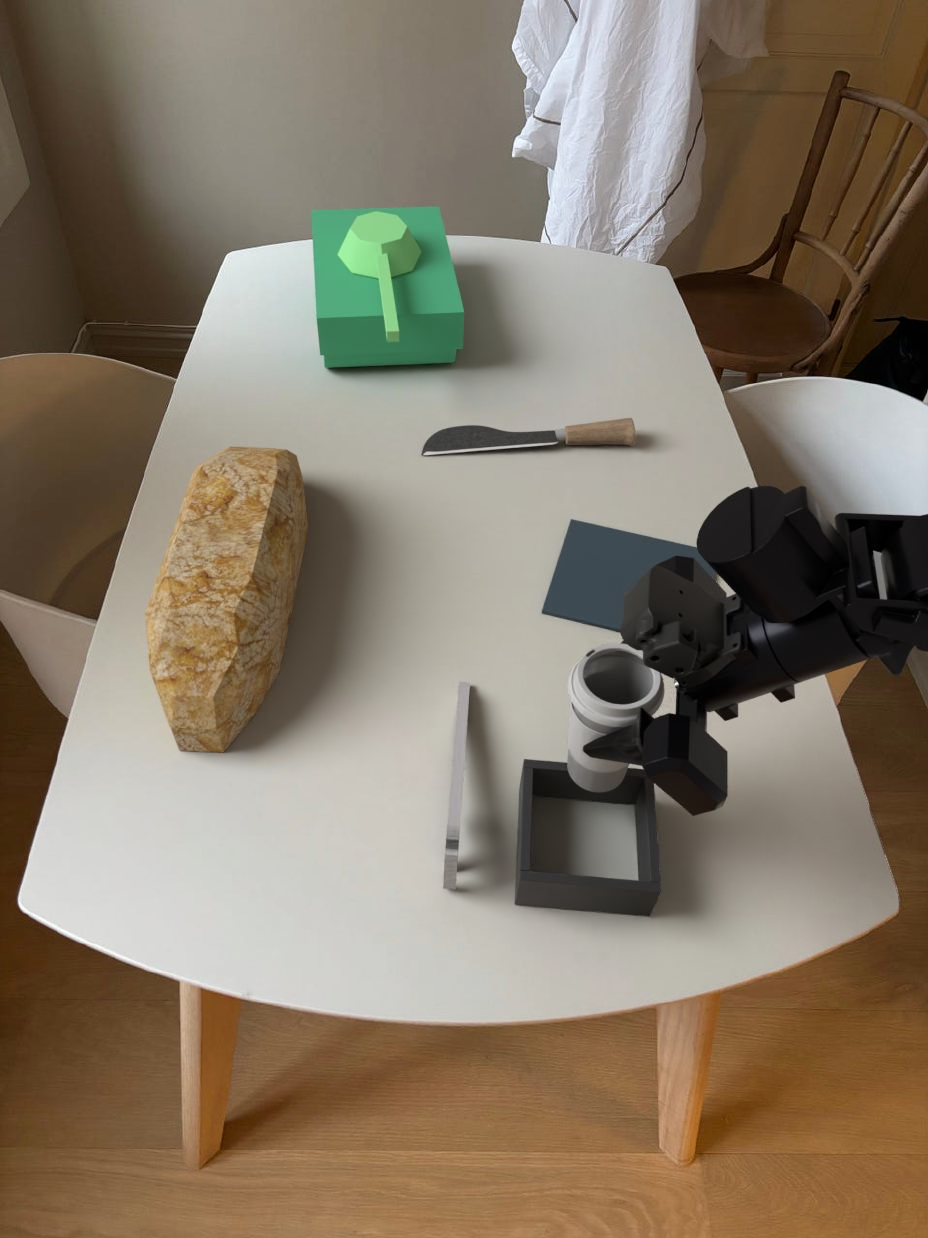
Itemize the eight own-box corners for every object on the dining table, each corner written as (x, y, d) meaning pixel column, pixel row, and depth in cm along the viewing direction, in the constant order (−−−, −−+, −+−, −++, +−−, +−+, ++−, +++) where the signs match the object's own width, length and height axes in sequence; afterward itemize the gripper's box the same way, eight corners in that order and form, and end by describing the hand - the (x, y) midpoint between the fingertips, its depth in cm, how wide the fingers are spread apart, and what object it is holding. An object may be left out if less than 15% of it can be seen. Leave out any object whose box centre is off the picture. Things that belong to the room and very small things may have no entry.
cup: (594, 717, 78) (616, 622, 69) (657, 768, 75) (688, 675, 66) (534, 766, 74) (549, 673, 65) (597, 822, 71) (622, 733, 62)
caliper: (456, 893, 74) (459, 856, 69) (442, 892, 74) (444, 855, 69) (470, 685, 87) (473, 642, 82) (458, 684, 87) (461, 641, 82)
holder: (643, 797, 80) (653, 769, 76) (650, 917, 73) (661, 892, 70) (519, 787, 80) (523, 758, 77) (514, 905, 73) (519, 879, 70)
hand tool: (417, 419, 110) (626, 402, 112) (419, 440, 113) (624, 423, 114) (421, 447, 107) (637, 429, 108) (422, 468, 109) (634, 451, 110)
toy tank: (315, 326, 103) (308, 182, 126) (324, 417, 113) (316, 268, 135) (474, 319, 105) (439, 179, 128) (470, 409, 114) (438, 264, 137)
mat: (717, 554, 100) (718, 551, 99) (702, 652, 91) (703, 649, 90) (570, 521, 102) (571, 518, 102) (541, 613, 93) (541, 610, 93)
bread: (220, 476, 105) (204, 402, 97) (318, 481, 105) (310, 407, 97) (136, 748, 81) (107, 678, 74) (262, 754, 81) (247, 685, 74)
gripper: (715, 465, 62) (536, 558, 72) (714, 686, 50) (499, 763, 59) (801, 566, 67) (623, 640, 77) (818, 788, 55) (605, 844, 65)
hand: (590, 712), depth 69 cm, fingers closed on cup, 7 cm apart
